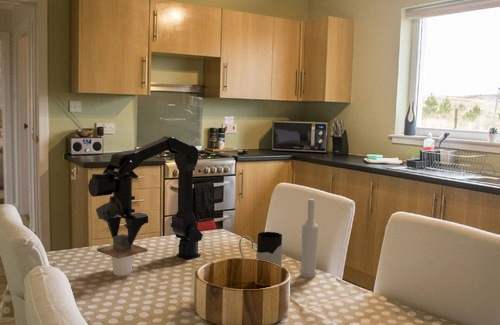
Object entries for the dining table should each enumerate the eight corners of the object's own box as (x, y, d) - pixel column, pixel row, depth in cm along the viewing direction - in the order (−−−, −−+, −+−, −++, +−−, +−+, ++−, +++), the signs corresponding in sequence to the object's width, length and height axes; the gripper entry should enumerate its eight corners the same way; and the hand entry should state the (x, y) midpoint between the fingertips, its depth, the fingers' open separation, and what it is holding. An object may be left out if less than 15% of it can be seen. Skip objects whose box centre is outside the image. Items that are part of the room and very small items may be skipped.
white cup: (127, 277, 161) (127, 255, 160) (107, 275, 162) (107, 253, 161) (136, 270, 167) (137, 249, 167) (117, 268, 169) (117, 247, 168)
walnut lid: (125, 244, 172) (125, 230, 171) (147, 251, 165) (147, 236, 164) (97, 251, 163) (97, 236, 163) (118, 258, 156) (118, 243, 156)
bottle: (318, 274, 169) (321, 199, 166) (313, 279, 164) (316, 201, 161) (302, 271, 171) (306, 197, 168) (297, 276, 166) (301, 199, 164)
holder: (278, 288, 155) (279, 239, 153) (233, 282, 159) (234, 234, 158) (285, 279, 163) (287, 233, 161) (242, 273, 168) (244, 228, 166)
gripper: (82, 192, 161) (83, 240, 163) (119, 200, 150) (119, 253, 152) (112, 188, 170) (112, 234, 172) (149, 196, 158) (149, 245, 160)
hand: (122, 241), depth 164 cm, fingers open, 8 cm apart
